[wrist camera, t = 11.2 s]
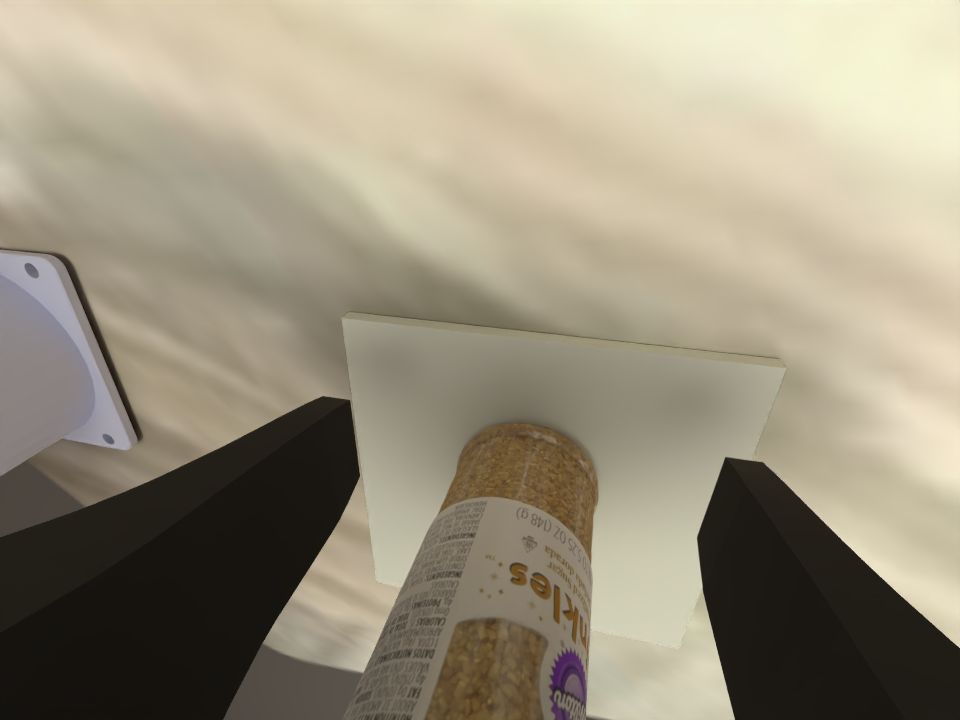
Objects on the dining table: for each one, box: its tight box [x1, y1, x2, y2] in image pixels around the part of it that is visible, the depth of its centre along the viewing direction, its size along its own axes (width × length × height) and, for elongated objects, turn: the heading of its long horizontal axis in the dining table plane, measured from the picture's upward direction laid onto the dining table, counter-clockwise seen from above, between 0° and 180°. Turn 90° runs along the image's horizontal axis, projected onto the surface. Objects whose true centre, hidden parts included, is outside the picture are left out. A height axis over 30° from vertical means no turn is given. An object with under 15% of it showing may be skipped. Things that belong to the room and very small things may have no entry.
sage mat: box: [341, 312, 787, 649], centre depth 16 cm, size 12×12×1 cm
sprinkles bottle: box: [343, 423, 599, 720], centre depth 9 cm, size 5×5×14 cm
